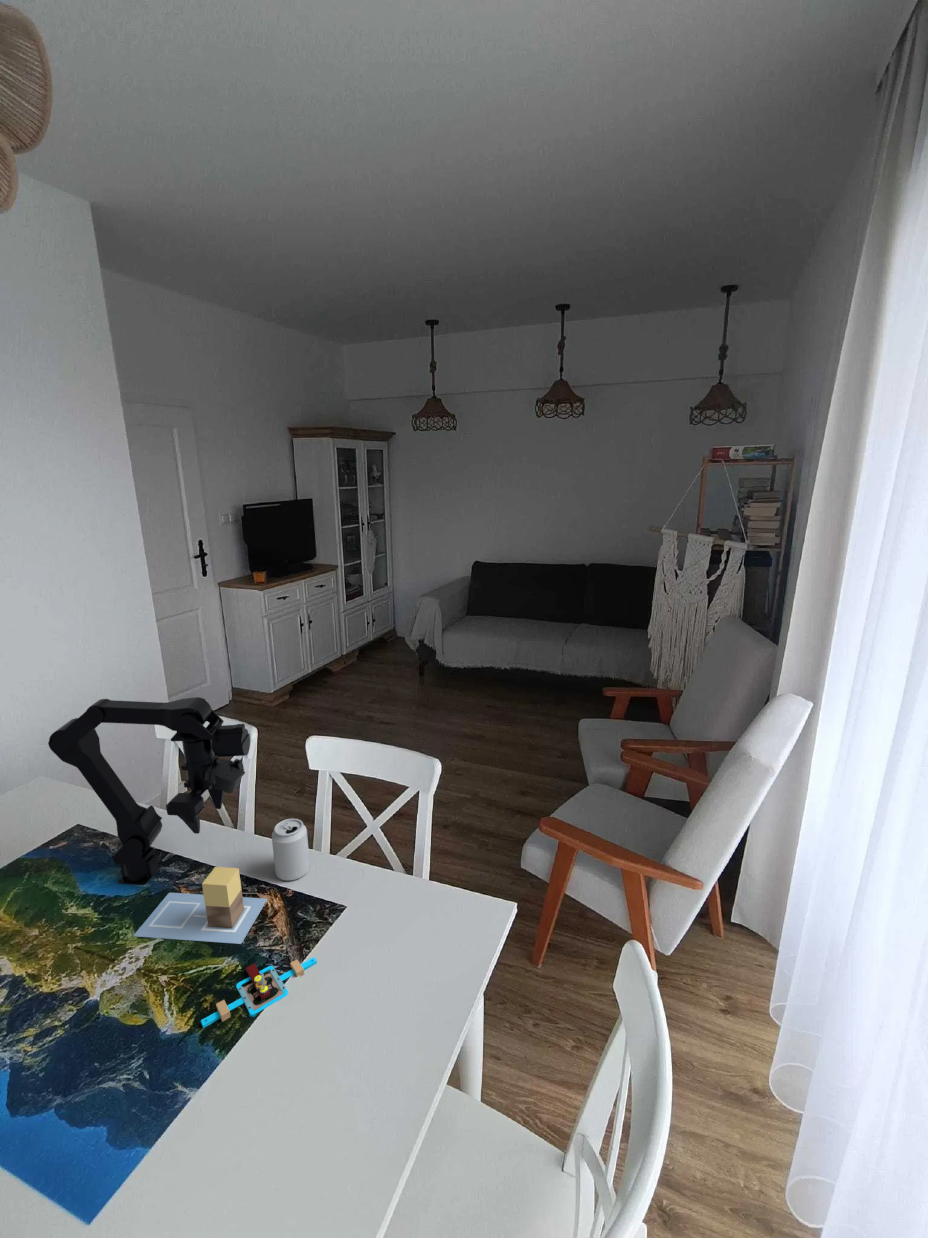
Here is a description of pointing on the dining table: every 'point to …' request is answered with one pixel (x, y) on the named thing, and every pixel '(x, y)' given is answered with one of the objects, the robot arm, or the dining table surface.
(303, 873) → the can
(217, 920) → the walnut cube
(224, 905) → the ochre block
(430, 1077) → the dining table surface
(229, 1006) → the gear mechanism
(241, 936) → the blueprint sheet
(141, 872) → the robot arm
